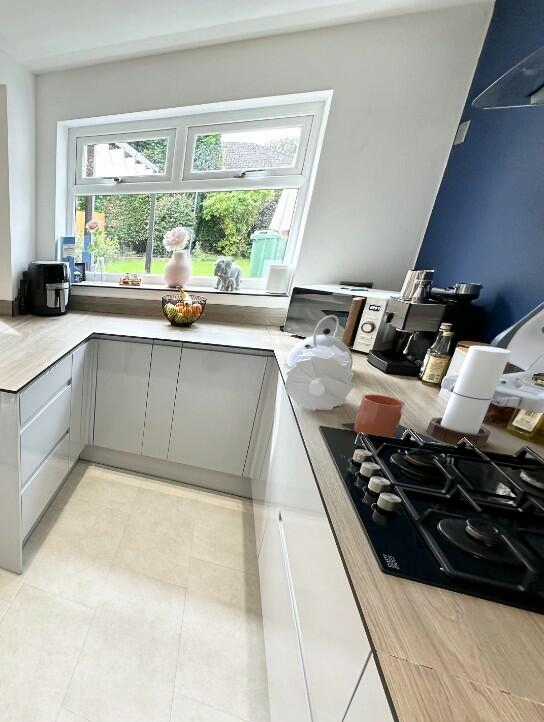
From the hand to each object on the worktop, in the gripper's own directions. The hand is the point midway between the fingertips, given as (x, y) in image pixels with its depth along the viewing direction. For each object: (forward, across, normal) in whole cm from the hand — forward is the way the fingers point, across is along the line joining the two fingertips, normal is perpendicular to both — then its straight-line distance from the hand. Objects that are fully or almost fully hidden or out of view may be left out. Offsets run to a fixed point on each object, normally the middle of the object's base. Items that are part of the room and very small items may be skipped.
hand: (474, 395), depth 105 cm
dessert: (+4, -22, +18) cm, 29 cm away
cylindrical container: (+1, 0, +13) cm, 13 cm away
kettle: (-22, -60, +12) cm, 66 cm away
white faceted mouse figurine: (+14, -32, +12) cm, 37 cm away
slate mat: (+16, -5, +12) cm, 21 cm away
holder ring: (+1, 0, +12) cm, 12 cm away
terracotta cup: (+20, -8, +12) cm, 25 cm away
